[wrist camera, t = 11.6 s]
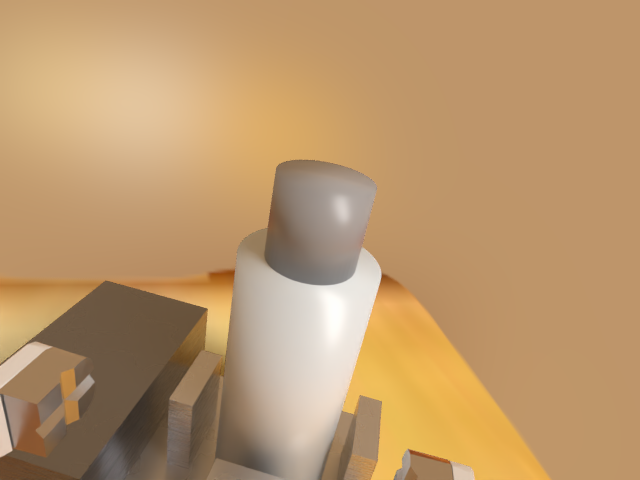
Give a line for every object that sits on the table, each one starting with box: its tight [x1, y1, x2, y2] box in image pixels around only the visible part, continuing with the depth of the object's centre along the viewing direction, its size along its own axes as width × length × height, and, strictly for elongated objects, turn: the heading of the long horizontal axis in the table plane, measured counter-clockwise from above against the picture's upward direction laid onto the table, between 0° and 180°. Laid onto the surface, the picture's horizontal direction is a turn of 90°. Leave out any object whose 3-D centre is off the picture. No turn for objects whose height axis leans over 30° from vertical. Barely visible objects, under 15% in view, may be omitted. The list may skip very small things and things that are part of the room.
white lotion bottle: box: [215, 160, 381, 480], centre depth 16 cm, size 5×5×14 cm
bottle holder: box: [0, 281, 382, 480], centre depth 19 cm, size 16×10×5 cm, turn 79°
